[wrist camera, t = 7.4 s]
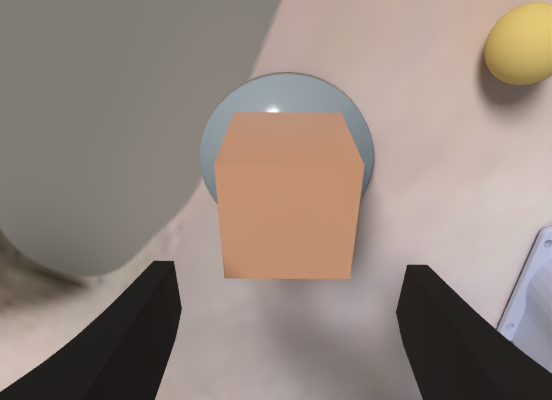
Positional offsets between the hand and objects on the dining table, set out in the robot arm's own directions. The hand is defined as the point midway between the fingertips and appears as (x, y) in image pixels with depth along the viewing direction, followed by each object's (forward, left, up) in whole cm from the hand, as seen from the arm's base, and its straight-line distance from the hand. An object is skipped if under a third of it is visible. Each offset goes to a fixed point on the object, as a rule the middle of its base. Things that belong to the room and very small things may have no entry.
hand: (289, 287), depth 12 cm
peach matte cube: (0, 0, -9) cm, 9 cm away
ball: (+6, -10, -10) cm, 15 cm away
